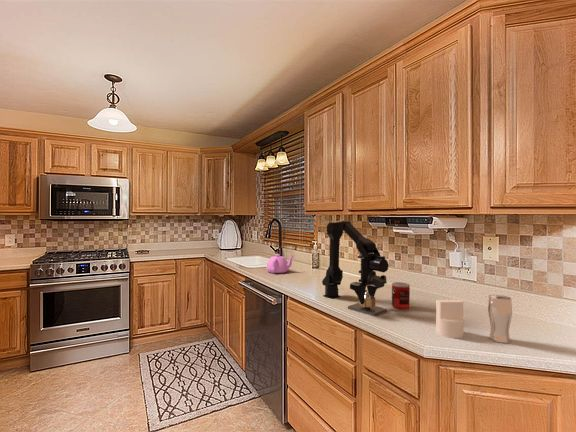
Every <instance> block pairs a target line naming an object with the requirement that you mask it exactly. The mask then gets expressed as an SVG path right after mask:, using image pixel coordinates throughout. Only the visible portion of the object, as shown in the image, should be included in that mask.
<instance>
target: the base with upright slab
mask: <svg viewBox="0 0 576 432" xmlns="http://www.w3.org/2000/svg"><path fill="white" fill-rule="evenodd" d="M435 304H436V308H435V311H436V312H435V314H436V315H435V332H436V334H438V335H440V336H441V337H444V338H445V337H446V338H448V339H463V338H464V330H465V326H464V324H465V320H464V301H463V300H461V299H436V302H435Z"/></svg>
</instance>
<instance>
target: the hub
mask: <svg viewBox="0 0 576 432" xmlns="http://www.w3.org/2000/svg"><path fill="white" fill-rule="evenodd" d="M358 303H359V305H360V306H363V307H374V306H376V297H375V296H374V297H373V296H370V299H365V298H364V304H361V303H360V301H359V300H358Z"/></svg>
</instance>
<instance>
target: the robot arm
mask: <svg viewBox="0 0 576 432" xmlns="http://www.w3.org/2000/svg"><path fill="white" fill-rule="evenodd" d="M343 232H345V234H346V235H347V236H348V237H349V238H350V239H351V240H352V241H353V242H354V243H355V247H356V249H357V251H358V253H360V254H359V255H357V258H358V259H360V270H358V273H359V274H360V279H358V281H354V282H350V284H349V289H350V290H352V291H354V293H355V294H356V295H357V298H358V302H359V301H360V303H361V304H364V296H365V293H366V292H369V295H370V296H373V297H375V295H376V292H377V290H378V289H381V288H384V287H385V284H387V276H386V275H384V274H382V275H377V272H380V273H386V272H387V271H388V269H389V266H390V265H389V261H388V260H387V259H386V256H382V255H381V254H380V252H379V250H378V248H377V245H376V242H374V241H373V240H371V239H370V238H367V237H365V236H364V235H363V234H362V233H360V231H359V230H358V229H357V228H356V227H355V226H354V225H353V224H352V222H351V221H349V220H342V221H338V222H329V223H328V224H327V225H326V233H327V236H328V238H329V264H328V265H329V266H328V268H327V270H326V272H325V276H324V278H323V279H322V281H321V283H322V286H324V288H325V289H324V294H323V297H325V298H329V299H336V298H339V297H340V296H341V295H339V286H341V283H342V280H343V278H344V276H343V273H344V272H343V269H341V267H340V241H341V238H342V236H343V234H344V233H343Z"/></svg>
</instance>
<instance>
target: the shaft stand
mask: <svg viewBox="0 0 576 432" xmlns="http://www.w3.org/2000/svg"><path fill="white" fill-rule="evenodd" d="M364 298H365V299H370V295H369V292H368V291H367V292H366V293H365V296H364ZM347 310H351V311H355V312H358V313H362V314H366V315H369V316H373V317H376V316H379V315H381V314H383V313H386V312H388V311H387V308H385V307H380V306H378V305H375V306H374V307H363V306H360V305H359V302H357V303H354V304H350V305H348V306H347Z"/></svg>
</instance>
